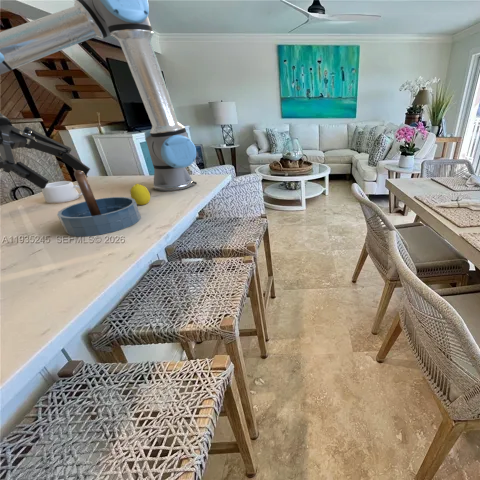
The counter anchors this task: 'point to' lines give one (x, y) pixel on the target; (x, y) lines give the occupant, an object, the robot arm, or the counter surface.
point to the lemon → (140, 194)
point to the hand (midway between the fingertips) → (68, 178)
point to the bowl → (99, 216)
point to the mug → (60, 192)
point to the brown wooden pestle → (87, 192)
